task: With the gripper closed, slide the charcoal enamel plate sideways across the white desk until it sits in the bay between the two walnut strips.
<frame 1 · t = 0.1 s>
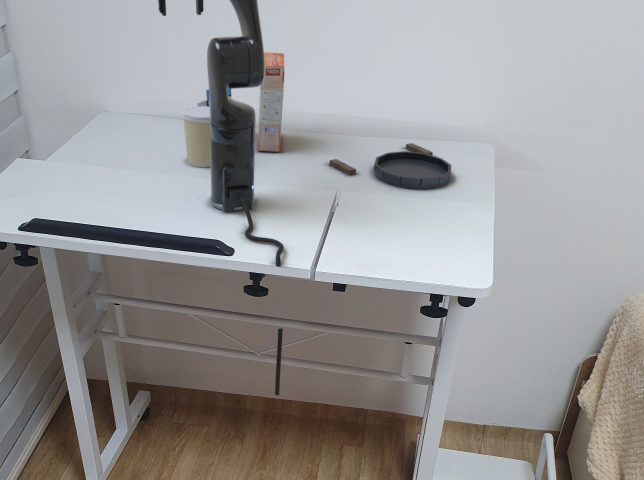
hand: (181, 14, 173), 29 cm above the table, tool pointing down, fingers open, 8 cm apart
cracker box: (269, 144, 189), on the table
coffee cup: (203, 162, 176), on the table
plate: (411, 175, 173), on the table
label tape box: (214, 134, 194), on the table
walnut strips: (381, 160, 181), on the table
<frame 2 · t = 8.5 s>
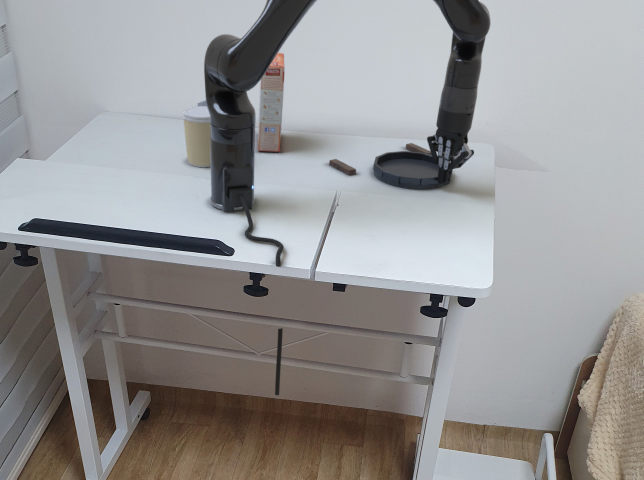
hand: (443, 183, 165), 2 cm above the table, tool pointing down, fingers closed
plate: (410, 174, 173), on the table, touching gripper
everything else where it was.
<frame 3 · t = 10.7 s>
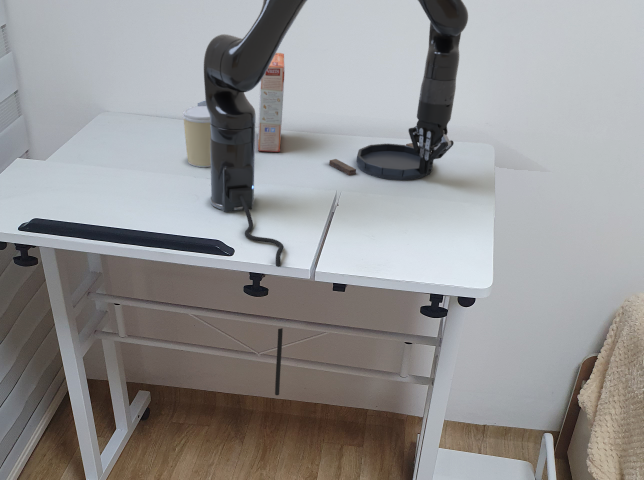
hand: (424, 174, 170), 2 cm above the table, tool pointing down, fingers closed
plate: (393, 166, 178), on the table, touching gripper
everything else where it was.
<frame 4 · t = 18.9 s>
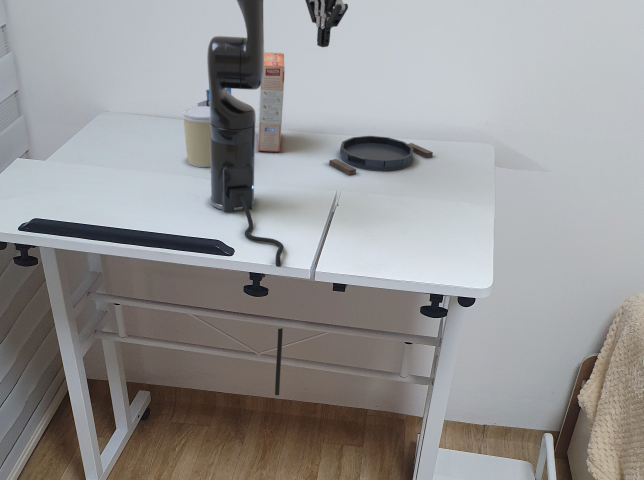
hand: (322, 46, 161), 27 cm above the table, tool pointing down, fingers closed
plate: (375, 157, 182), on the table
everything else where it was.
at the end: plate inside the target area (2.3 cm from its centre), on the table; plate moved 13.3 cm from its start; plate tilted 0° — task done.
